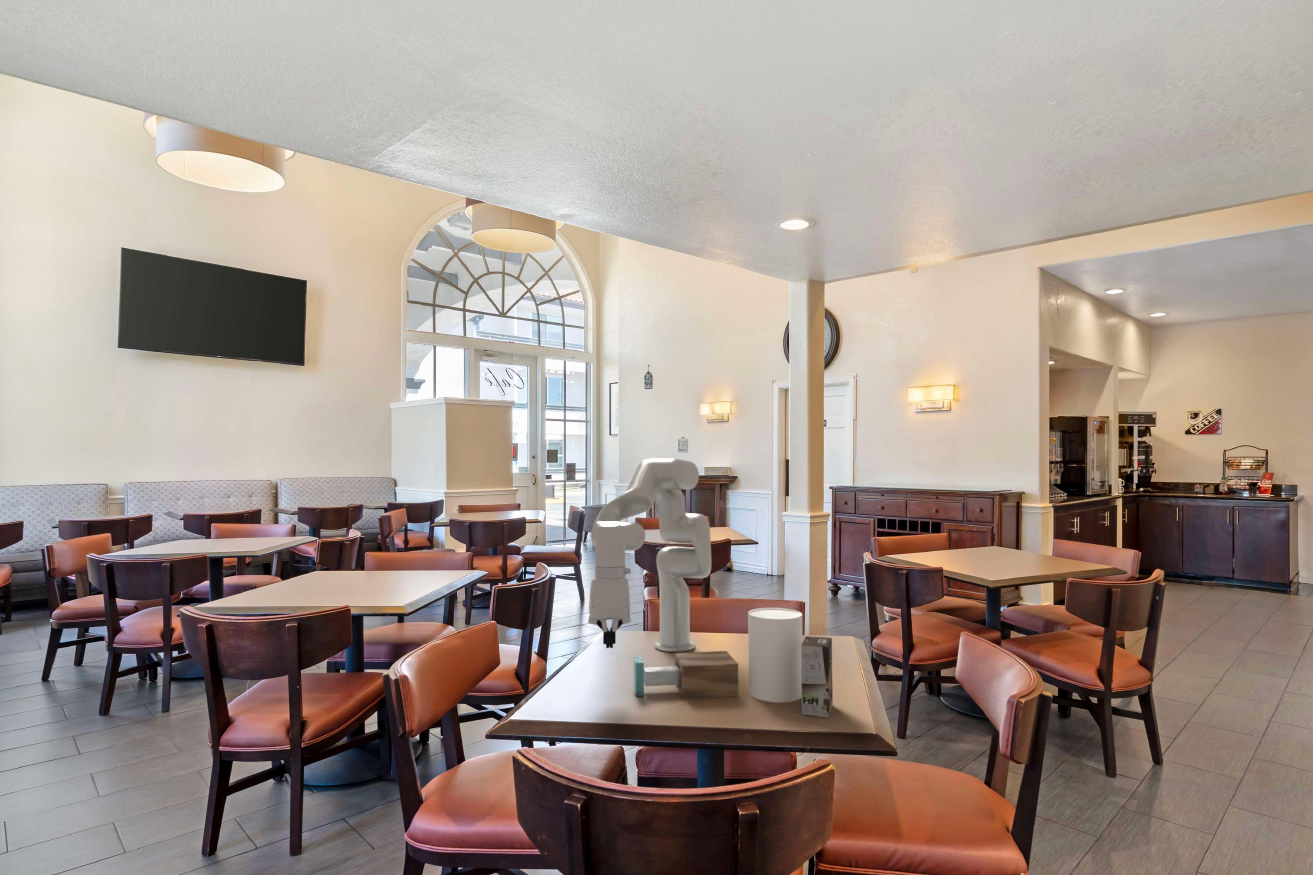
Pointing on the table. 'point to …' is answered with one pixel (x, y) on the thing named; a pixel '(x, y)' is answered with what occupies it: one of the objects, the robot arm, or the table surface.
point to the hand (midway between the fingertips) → (609, 646)
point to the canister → (775, 654)
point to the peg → (653, 676)
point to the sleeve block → (707, 674)
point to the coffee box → (816, 676)
